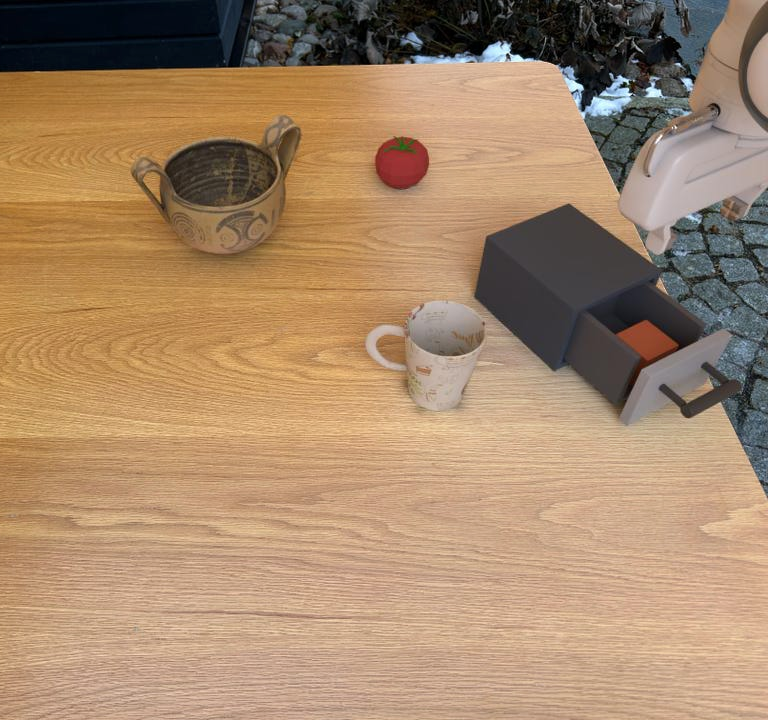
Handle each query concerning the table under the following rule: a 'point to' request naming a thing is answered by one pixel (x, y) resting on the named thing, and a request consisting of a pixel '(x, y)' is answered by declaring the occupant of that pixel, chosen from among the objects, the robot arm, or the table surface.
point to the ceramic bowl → (224, 187)
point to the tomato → (402, 162)
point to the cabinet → (555, 276)
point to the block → (647, 345)
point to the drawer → (619, 361)
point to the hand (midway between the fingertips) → (695, 232)
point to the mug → (436, 351)
